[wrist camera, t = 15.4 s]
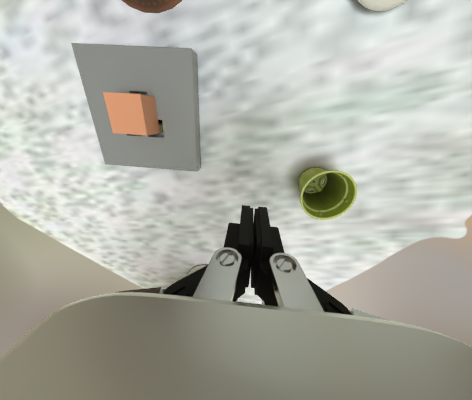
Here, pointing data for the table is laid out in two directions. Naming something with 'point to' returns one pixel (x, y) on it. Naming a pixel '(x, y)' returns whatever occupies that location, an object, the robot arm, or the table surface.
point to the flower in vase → (381, 4)
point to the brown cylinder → (152, 5)
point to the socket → (155, 85)
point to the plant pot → (326, 193)
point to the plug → (132, 113)
